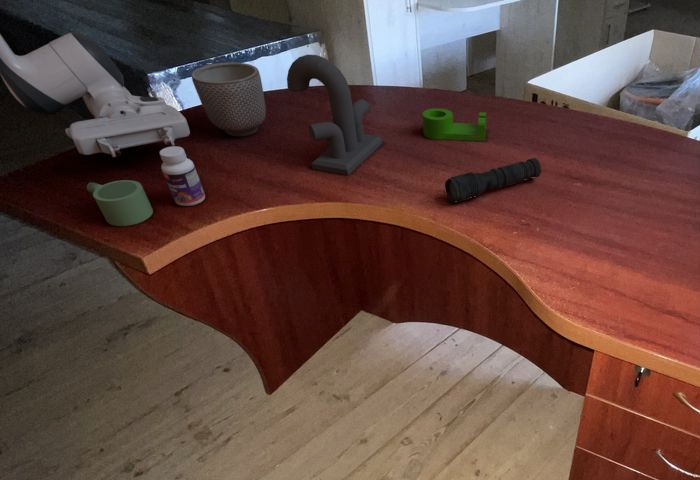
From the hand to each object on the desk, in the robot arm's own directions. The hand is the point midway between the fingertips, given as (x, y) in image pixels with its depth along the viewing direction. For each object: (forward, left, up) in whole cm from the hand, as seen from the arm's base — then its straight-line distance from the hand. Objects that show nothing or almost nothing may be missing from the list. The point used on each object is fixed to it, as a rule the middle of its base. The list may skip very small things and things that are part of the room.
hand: (143, 148), depth 104 cm
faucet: (+36, +3, -7) cm, 36 cm away
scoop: (-5, -12, -6) cm, 15 cm away
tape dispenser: (+65, +6, -7) cm, 65 cm away
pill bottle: (+7, -11, -7) cm, 14 cm away
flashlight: (+65, -23, -7) cm, 69 cm away
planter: (+17, +20, -7) cm, 27 cm away
